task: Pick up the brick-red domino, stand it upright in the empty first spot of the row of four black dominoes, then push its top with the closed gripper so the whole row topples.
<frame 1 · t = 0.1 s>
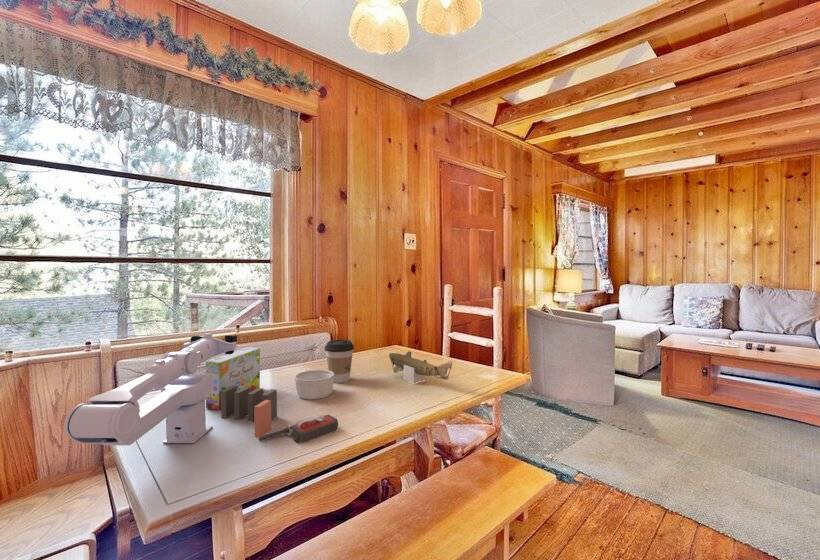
hand: (223, 338, 119), 22 cm above the table, tool horizontal, fingers open, 7 cm apart
domino 2: (256, 417, 111), on the table
ramekin: (315, 395, 131), on the table
coffee cup: (339, 381, 146), on the table
domino 4: (229, 414, 113), on the table
domino 1: (269, 419, 110), on the table
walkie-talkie: (301, 437, 100), on the table
wood carving: (418, 382, 145), on the table
snack box: (235, 398, 128), on the table
red domino: (263, 432, 102), on the table
domino 3: (242, 416, 112), on the table
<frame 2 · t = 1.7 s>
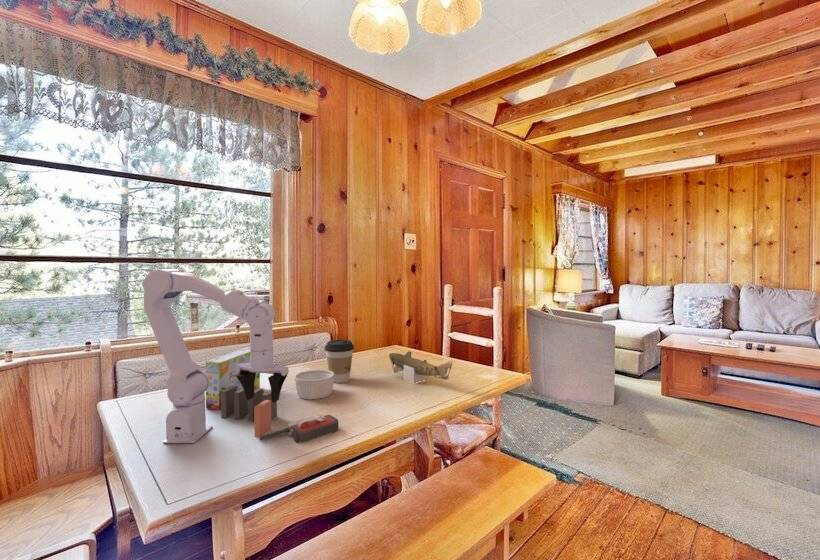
hand: (262, 399, 101), 9 cm above the table, tool pointing down, fingers open, 7 cm apart
nothing on the table moved.
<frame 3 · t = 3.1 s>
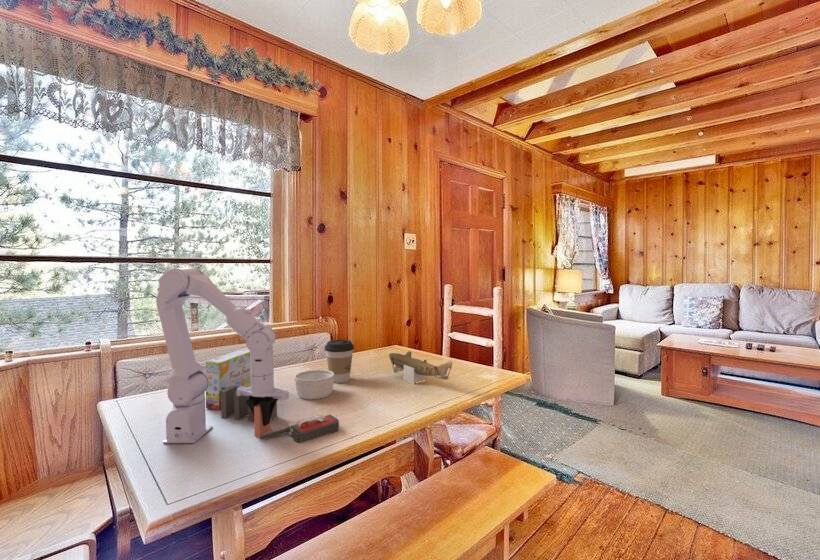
hand: (263, 423, 101), 2 cm above the table, tool pointing down, fingers closed on red domino, 2 cm apart
red domino: (263, 432, 102), on the table, touching gripper
everything else where it was.
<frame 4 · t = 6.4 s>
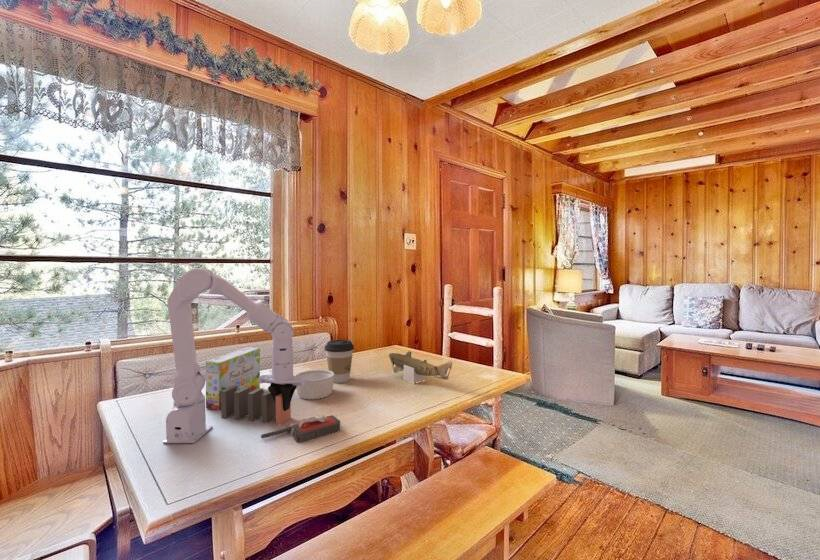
hand: (283, 409, 109), 3 cm above the table, tool pointing down, fingers closed on red domino
red domino: (283, 420, 109), on the table, touching gripper
everything else where it was.
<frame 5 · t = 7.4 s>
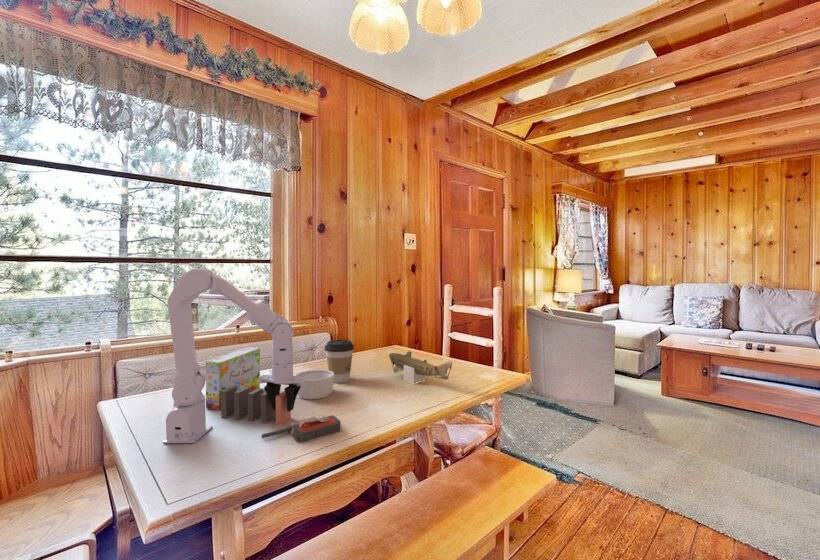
hand: (283, 409, 109), 3 cm above the table, tool pointing down, fingers open, 4 cm apart
red domino: (283, 420, 109), on the table
everything else where it was.
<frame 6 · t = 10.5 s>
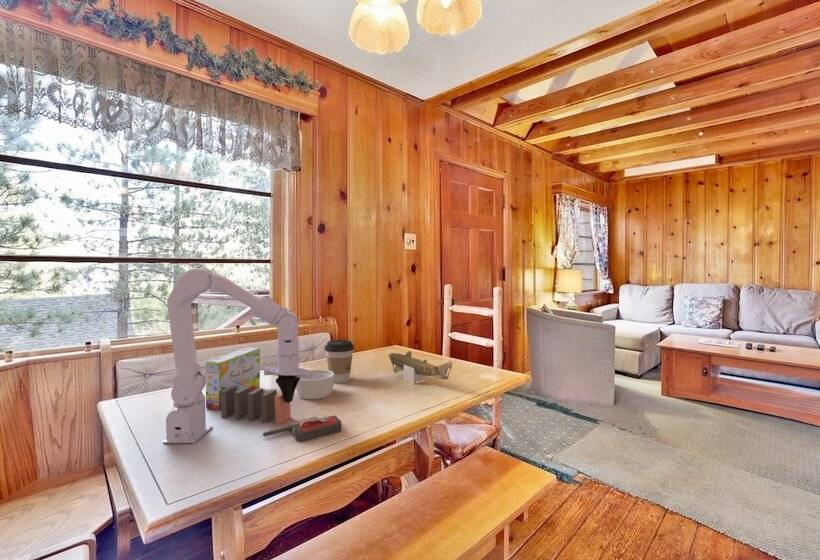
hand: (288, 401, 108), 6 cm above the table, tool pointing down, fingers closed
red domino: (283, 420, 109), on the table, touching gripper
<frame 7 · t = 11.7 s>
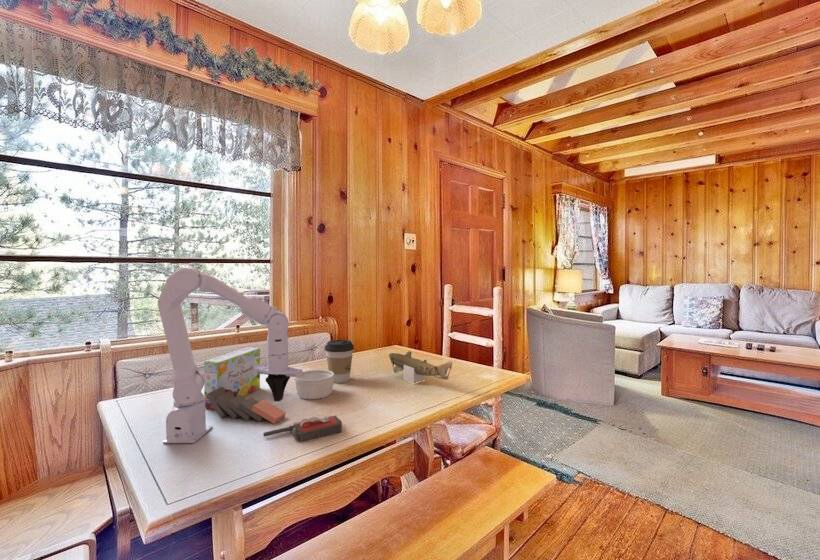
hand: (278, 400, 109), 6 cm above the table, tool pointing down, fingers closed
domino 2: (253, 415, 111), point 1 cm above the table, tilted 60°, touching domino 1, domino 3
domino 4: (228, 413, 113), on the table, tilted 39°, touching domino 3
domino 1: (266, 416, 110), point 1 cm above the table, tilted 64°, touching domino 2, red domino
red domino: (280, 418, 109), point 1 cm above the table, tilted 67°, touching domino 1
domino 3: (241, 414, 112), point 1 cm above the table, tilted 53°, touching domino 2, domino 4
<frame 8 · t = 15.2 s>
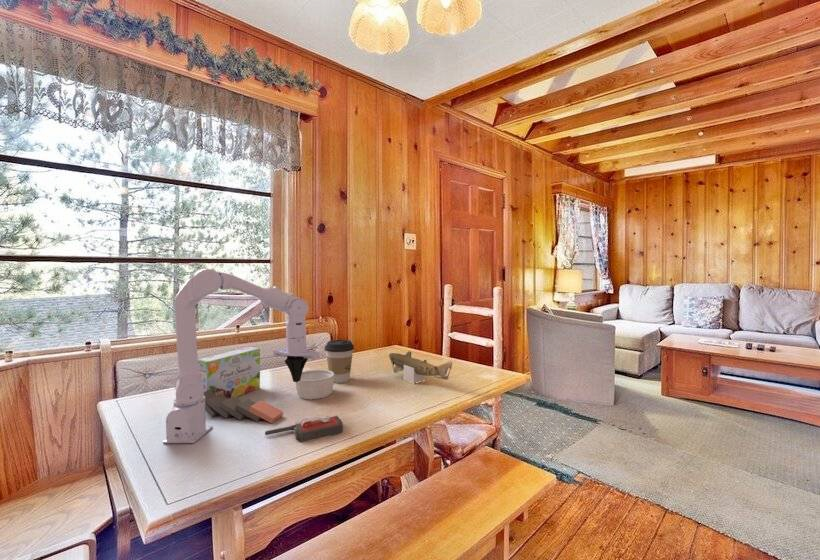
hand: (296, 380, 116), 9 cm above the table, tool pointing down, fingers closed
domino 2: (247, 414, 112), point 1 cm above the table, tilted 66°, touching domino 1, domino 3
domino 4: (219, 412, 114), point 1 cm above the table, tilted 53°, touching domino 3, snack box
domino 1: (263, 415, 111), point 1 cm above the table, tilted 70°, touching domino 2, red domino
snack box: (231, 397, 129), on the table, touching domino 4
domino 3: (233, 413, 113), point 1 cm above the table, tilted 62°, touching domino 2, domino 4
at the end: domino 4 tilted 53°; red domino tilted 70°; red domino inside the target area (1.5 cm from its centre), point 0.7 cm above the table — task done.
